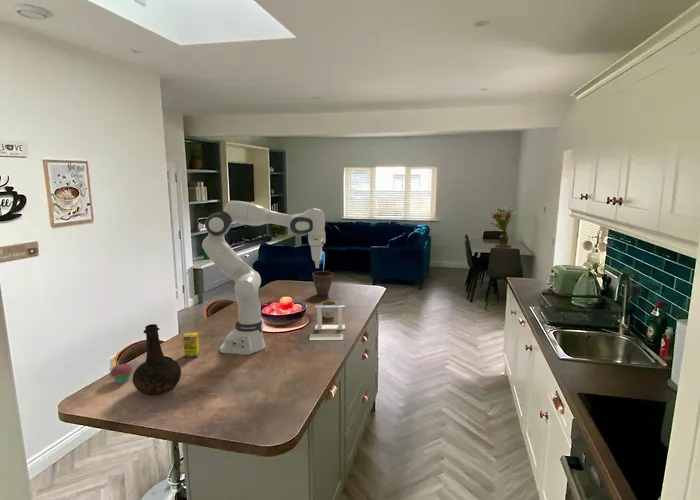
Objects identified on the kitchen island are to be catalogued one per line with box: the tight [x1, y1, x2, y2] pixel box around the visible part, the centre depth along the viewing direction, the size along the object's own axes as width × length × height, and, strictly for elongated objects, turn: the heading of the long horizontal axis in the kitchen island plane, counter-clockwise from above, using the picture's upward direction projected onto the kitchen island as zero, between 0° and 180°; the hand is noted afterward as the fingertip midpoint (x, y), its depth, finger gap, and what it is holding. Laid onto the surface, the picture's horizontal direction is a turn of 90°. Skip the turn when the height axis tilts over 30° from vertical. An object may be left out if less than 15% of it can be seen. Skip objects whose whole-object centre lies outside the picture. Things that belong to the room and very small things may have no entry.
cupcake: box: [109, 357, 134, 385], centre depth 178 cm, size 9×8×12 cm
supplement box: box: [182, 331, 200, 359], centre depth 203 cm, size 6×6×11 cm
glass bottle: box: [132, 323, 182, 396], centre depth 169 cm, size 18×18×28 cm
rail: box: [314, 305, 346, 313], centre depth 237 cm, size 17×3×3 cm, turn 91°
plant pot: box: [312, 270, 334, 297], centre depth 304 cm, size 15×15×16 cm
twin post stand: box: [314, 308, 346, 331], centre depth 238 cm, size 17×6×12 cm, turn 91°
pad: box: [309, 333, 344, 341], centre depth 225 cm, size 18×8×1 cm, turn 91°
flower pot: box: [320, 300, 337, 319], centre depth 258 cm, size 9×9×9 cm
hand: (318, 265), depth 216 cm, fingers open, 8 cm apart
